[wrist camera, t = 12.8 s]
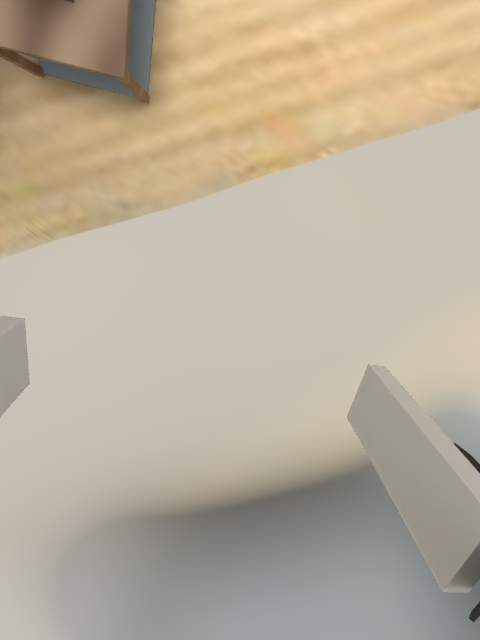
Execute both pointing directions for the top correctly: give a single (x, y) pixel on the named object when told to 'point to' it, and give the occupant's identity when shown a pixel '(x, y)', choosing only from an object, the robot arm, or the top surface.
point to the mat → (137, 55)
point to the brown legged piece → (70, 36)
